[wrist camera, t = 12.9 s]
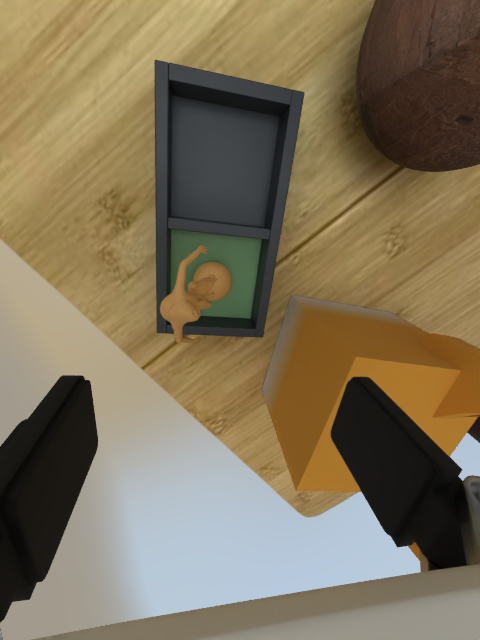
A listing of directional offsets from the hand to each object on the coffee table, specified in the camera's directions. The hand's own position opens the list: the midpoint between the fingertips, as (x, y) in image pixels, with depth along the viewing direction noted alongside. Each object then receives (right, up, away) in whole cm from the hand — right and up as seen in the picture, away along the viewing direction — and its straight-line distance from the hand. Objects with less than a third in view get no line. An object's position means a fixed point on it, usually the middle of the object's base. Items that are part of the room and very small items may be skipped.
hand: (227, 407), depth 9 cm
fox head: (+15, -2, +27) cm, 31 cm away
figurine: (-4, +8, +19) cm, 21 cm away
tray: (-2, +13, +18) cm, 22 cm away
